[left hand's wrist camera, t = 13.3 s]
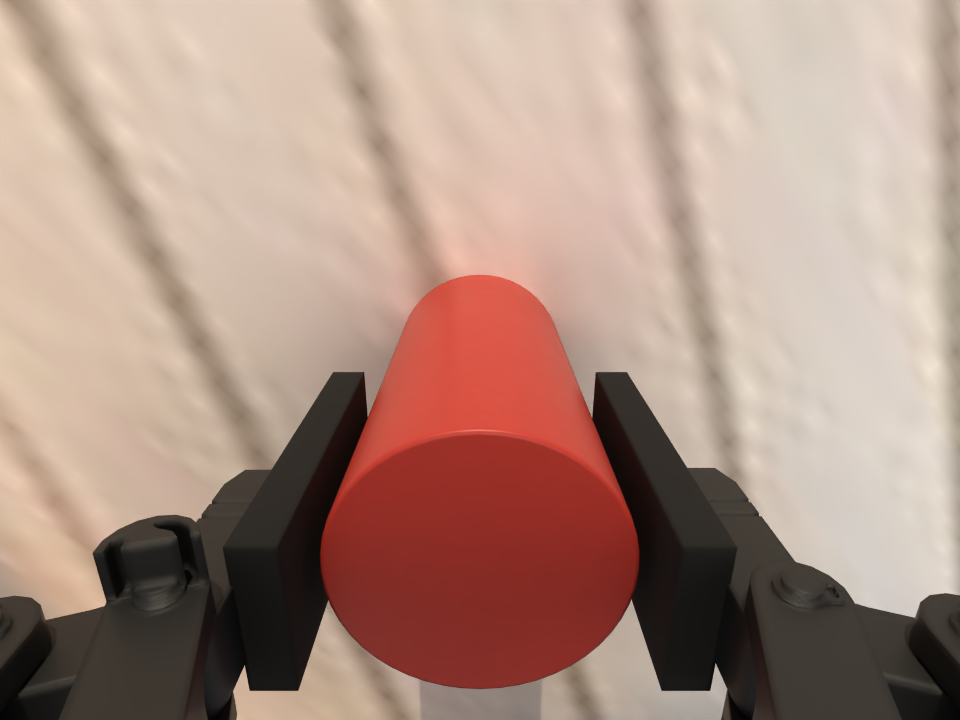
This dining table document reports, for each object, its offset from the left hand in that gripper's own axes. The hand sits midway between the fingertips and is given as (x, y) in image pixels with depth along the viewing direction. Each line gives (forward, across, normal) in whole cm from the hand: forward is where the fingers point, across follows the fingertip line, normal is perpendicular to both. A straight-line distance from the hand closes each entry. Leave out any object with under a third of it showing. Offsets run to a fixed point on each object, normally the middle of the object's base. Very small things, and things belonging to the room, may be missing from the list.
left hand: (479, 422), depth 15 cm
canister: (+5, 0, 0) cm, 5 cm away
